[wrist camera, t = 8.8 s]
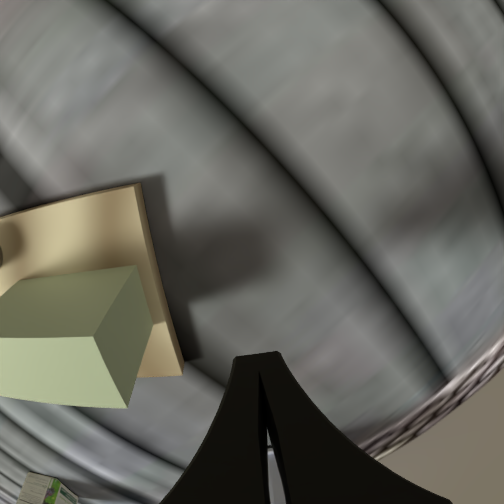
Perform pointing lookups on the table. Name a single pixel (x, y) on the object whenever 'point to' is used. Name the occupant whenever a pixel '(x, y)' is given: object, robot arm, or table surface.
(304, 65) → the table surface
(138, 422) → the table surface
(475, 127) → the table surface
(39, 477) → the printed cardboard box
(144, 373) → the board
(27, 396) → the block
